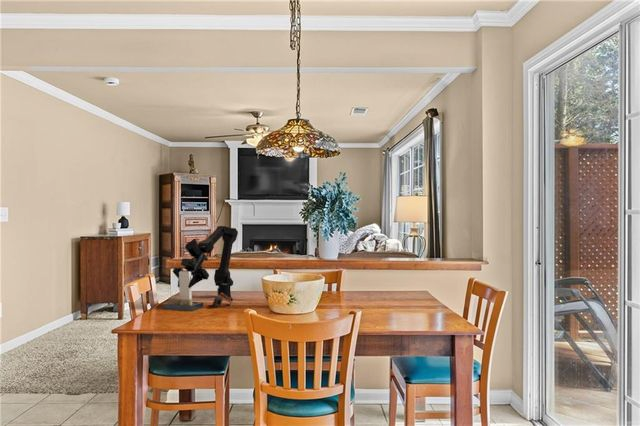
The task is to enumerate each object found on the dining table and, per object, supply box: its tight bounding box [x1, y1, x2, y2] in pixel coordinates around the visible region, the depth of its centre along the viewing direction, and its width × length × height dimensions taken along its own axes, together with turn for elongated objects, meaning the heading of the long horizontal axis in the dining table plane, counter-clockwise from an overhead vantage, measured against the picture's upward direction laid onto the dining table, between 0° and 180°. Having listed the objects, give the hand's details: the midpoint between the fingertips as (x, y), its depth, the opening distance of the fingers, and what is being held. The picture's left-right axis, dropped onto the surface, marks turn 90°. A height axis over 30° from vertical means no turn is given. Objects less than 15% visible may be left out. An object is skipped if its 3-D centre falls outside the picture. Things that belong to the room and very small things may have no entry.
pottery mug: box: [211, 293, 234, 308], centre depth 233 cm, size 12×10×8 cm
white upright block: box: [178, 270, 193, 300], centre depth 232 cm, size 2×6×14 cm, turn 68°
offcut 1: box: [168, 297, 181, 304], centre depth 229 cm, size 2×6×5 cm, turn 68°
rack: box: [162, 301, 205, 312], centre depth 230 cm, size 10×18×3 cm, turn 68°
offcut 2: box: [180, 298, 193, 305], centre depth 227 cm, size 2×6×5 cm, turn 68°
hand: (183, 287), depth 230 cm, fingers closed on white upright block, 6 cm apart
